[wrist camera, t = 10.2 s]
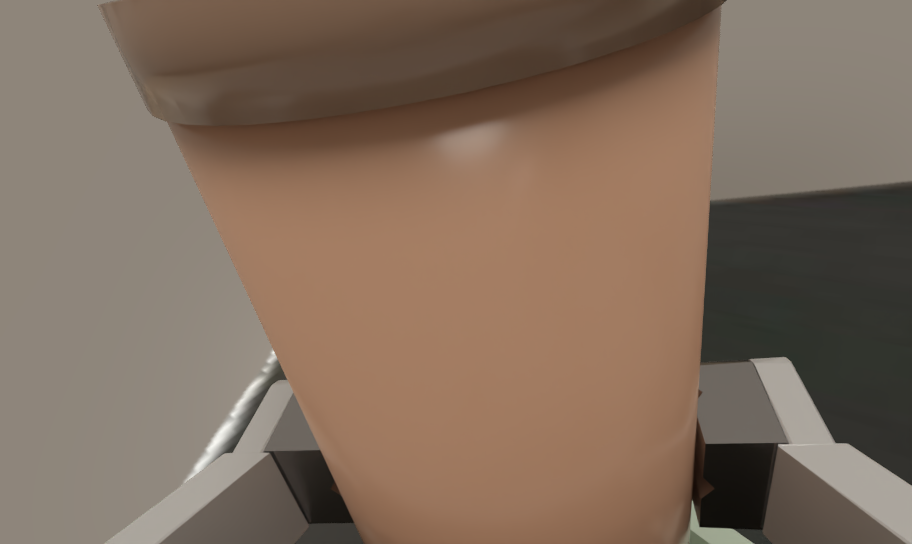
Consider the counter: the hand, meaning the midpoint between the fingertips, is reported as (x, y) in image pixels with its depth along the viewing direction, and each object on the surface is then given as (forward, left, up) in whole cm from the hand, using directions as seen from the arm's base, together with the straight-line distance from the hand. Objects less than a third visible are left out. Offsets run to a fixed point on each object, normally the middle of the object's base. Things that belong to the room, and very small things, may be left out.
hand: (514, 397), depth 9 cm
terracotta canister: (+1, +1, -8) cm, 8 cm away
